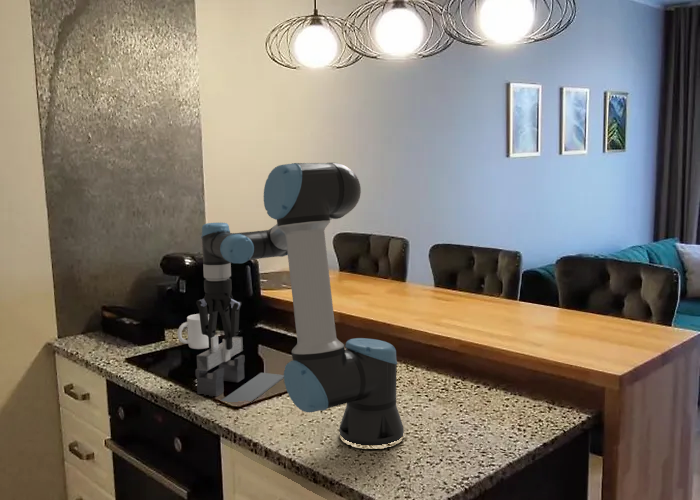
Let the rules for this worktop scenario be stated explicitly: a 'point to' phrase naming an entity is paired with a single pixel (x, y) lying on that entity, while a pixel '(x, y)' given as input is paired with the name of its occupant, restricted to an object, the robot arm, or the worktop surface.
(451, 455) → the worktop surface
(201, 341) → the mug
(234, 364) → the post
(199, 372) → the post
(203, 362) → the rail
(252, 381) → the mat
